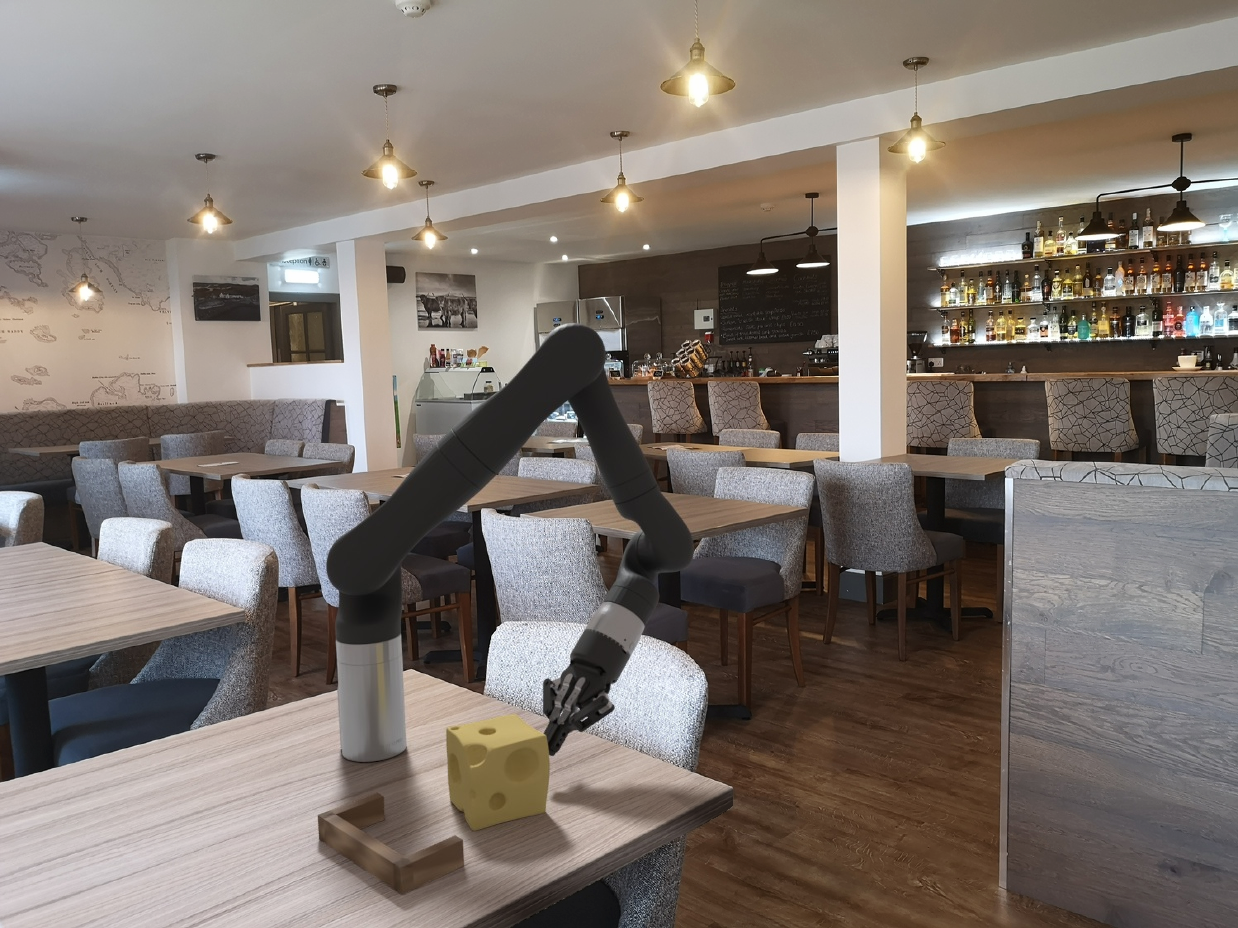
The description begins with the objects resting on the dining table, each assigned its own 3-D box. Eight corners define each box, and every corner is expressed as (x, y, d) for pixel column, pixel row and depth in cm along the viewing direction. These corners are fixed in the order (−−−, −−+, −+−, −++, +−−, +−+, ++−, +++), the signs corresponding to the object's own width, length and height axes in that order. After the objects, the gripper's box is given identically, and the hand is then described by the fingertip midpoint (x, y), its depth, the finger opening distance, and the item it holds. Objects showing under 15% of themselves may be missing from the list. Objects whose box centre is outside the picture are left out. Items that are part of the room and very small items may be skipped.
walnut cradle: (319, 838, 110) (317, 814, 110) (378, 815, 116) (377, 792, 116) (401, 894, 98) (400, 867, 97) (464, 865, 103) (462, 839, 103)
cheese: (472, 833, 111) (468, 752, 110) (445, 798, 120) (442, 724, 120) (552, 812, 116) (549, 735, 115) (520, 781, 125) (517, 709, 124)
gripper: (562, 619, 134) (497, 726, 126) (628, 635, 124) (563, 751, 117) (589, 647, 138) (529, 752, 130) (655, 665, 129) (594, 779, 121)
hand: (545, 752), depth 123 cm, fingers closed
